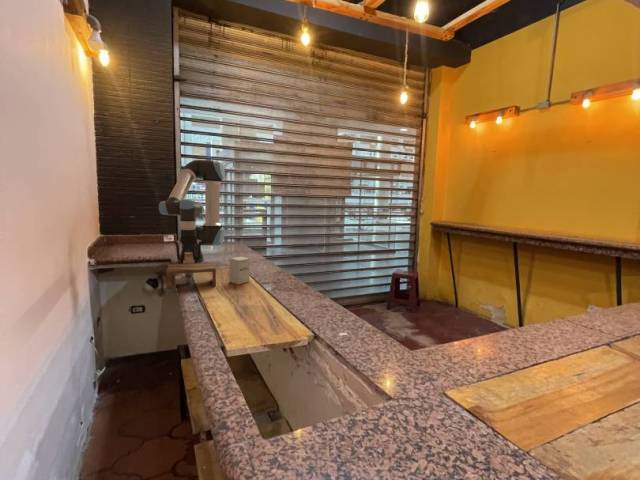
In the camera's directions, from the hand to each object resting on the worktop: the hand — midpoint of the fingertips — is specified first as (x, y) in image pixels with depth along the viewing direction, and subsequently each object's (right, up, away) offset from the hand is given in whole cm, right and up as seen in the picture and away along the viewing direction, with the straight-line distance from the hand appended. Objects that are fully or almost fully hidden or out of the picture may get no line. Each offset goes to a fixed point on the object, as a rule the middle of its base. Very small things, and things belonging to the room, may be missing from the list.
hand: (189, 272), depth 177 cm
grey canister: (+28, -5, -4) cm, 29 cm away
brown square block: (0, -4, -10) cm, 11 cm away
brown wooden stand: (+6, -5, -11) cm, 13 cm away
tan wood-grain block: (+2, -3, -6) cm, 7 cm away
